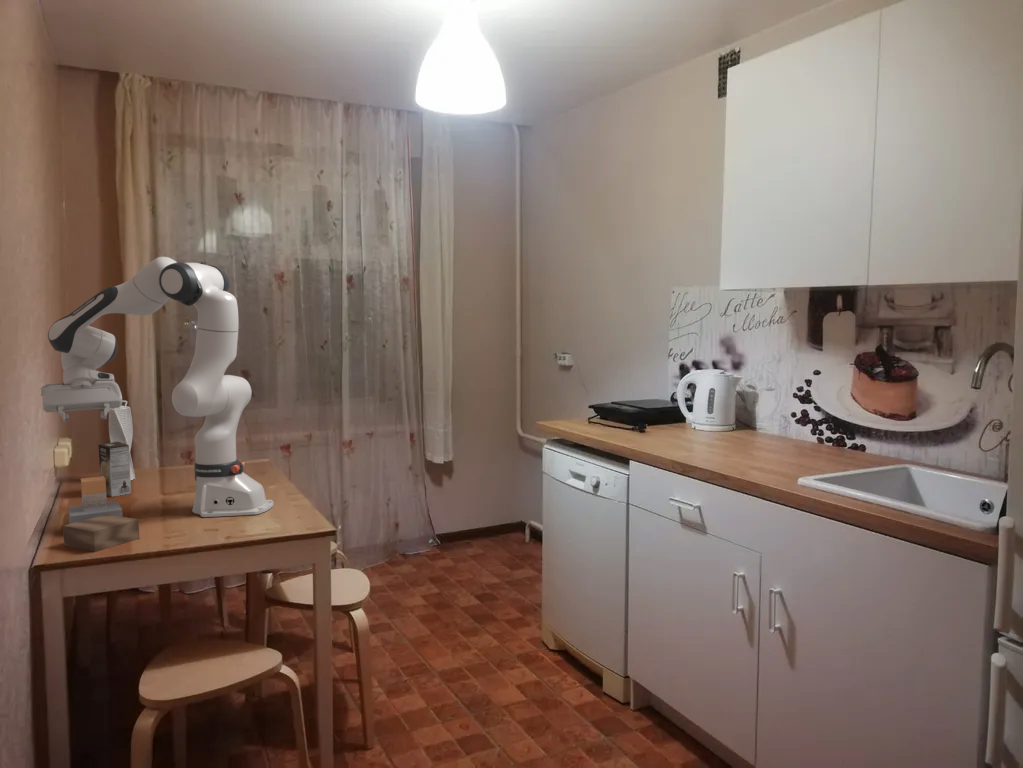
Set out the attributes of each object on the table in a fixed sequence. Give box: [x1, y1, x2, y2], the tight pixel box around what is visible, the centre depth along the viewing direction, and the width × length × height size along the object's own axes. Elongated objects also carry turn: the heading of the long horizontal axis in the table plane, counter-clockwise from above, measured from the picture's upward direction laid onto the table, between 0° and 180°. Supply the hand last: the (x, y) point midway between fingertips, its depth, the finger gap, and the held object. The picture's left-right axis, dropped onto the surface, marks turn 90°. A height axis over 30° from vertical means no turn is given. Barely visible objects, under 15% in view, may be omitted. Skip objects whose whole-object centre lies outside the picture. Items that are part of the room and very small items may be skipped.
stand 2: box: [62, 514, 140, 553], centre depth 189 cm, size 12×12×5 cm
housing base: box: [81, 491, 108, 512], centre depth 203 cm, size 6×6×4 cm
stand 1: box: [67, 500, 124, 524], centre depth 204 cm, size 12×12×5 cm
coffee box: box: [97, 442, 132, 498], centre depth 242 cm, size 9×6×16 cm
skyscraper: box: [108, 400, 136, 481], centre depth 259 cm, size 8×8×28 cm
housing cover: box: [80, 476, 106, 495], centre depth 203 cm, size 6×6×4 cm
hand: (85, 419), depth 216 cm, fingers open, 8 cm apart
